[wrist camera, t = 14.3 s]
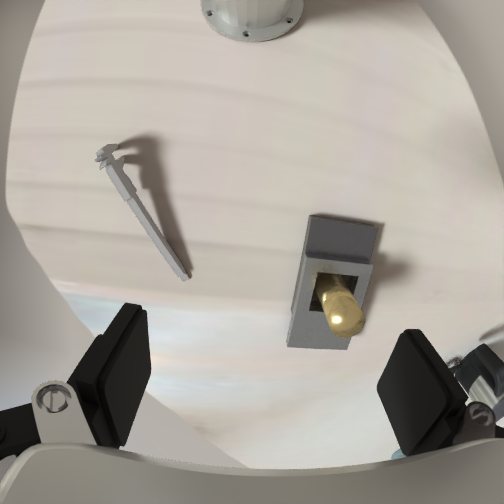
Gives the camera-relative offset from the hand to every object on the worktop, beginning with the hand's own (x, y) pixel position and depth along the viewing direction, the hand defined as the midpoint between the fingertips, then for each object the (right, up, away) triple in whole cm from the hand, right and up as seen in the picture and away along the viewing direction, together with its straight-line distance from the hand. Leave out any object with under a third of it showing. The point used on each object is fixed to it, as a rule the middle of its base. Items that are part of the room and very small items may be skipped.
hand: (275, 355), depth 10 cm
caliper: (-14, +9, +28) cm, 32 cm away
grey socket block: (+10, -1, +30) cm, 32 cm away
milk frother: (+42, -21, +38) cm, 60 cm away
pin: (+10, -1, +31) cm, 32 cm away
